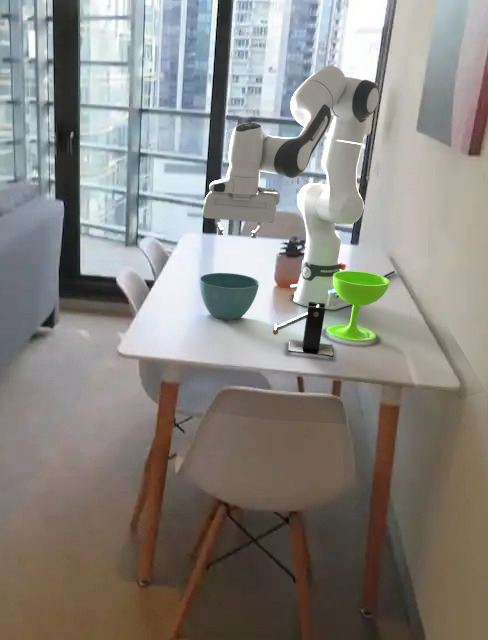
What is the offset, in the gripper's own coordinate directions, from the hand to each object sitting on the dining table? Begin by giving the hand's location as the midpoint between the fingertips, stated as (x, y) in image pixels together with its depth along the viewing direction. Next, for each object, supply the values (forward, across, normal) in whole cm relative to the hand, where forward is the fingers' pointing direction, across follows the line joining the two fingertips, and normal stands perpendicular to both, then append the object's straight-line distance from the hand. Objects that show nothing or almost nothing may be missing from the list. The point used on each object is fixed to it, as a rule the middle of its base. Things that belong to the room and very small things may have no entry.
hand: (237, 236), depth 201 cm
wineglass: (+29, -36, -11) cm, 48 cm away
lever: (+21, -20, +7) cm, 30 cm away
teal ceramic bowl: (+29, +2, -15) cm, 33 cm away
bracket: (+29, -24, +7) cm, 38 cm away
